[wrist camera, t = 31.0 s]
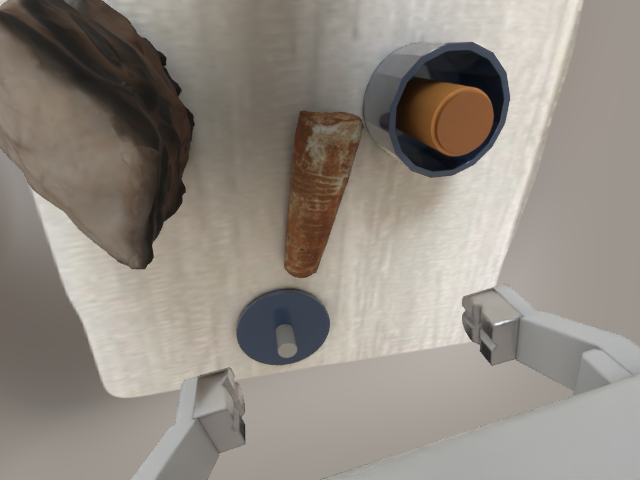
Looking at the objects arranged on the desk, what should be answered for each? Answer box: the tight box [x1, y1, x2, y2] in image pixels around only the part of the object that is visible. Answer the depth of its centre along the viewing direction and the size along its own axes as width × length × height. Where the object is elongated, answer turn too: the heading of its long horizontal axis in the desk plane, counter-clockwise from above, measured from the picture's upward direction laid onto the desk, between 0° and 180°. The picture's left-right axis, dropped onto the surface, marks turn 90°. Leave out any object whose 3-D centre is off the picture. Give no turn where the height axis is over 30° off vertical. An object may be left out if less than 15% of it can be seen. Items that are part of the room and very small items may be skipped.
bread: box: [284, 111, 363, 278], centre depth 38 cm, size 6×19×6 cm, turn 167°
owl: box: [0, 0, 195, 269], centre depth 25 cm, size 13×13×20 cm
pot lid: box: [237, 290, 330, 365], centre depth 47 cm, size 12×12×5 cm
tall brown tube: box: [396, 78, 494, 156], centre depth 34 cm, size 6×6×10 cm
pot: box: [363, 42, 510, 178], centre depth 35 cm, size 11×11×8 cm
